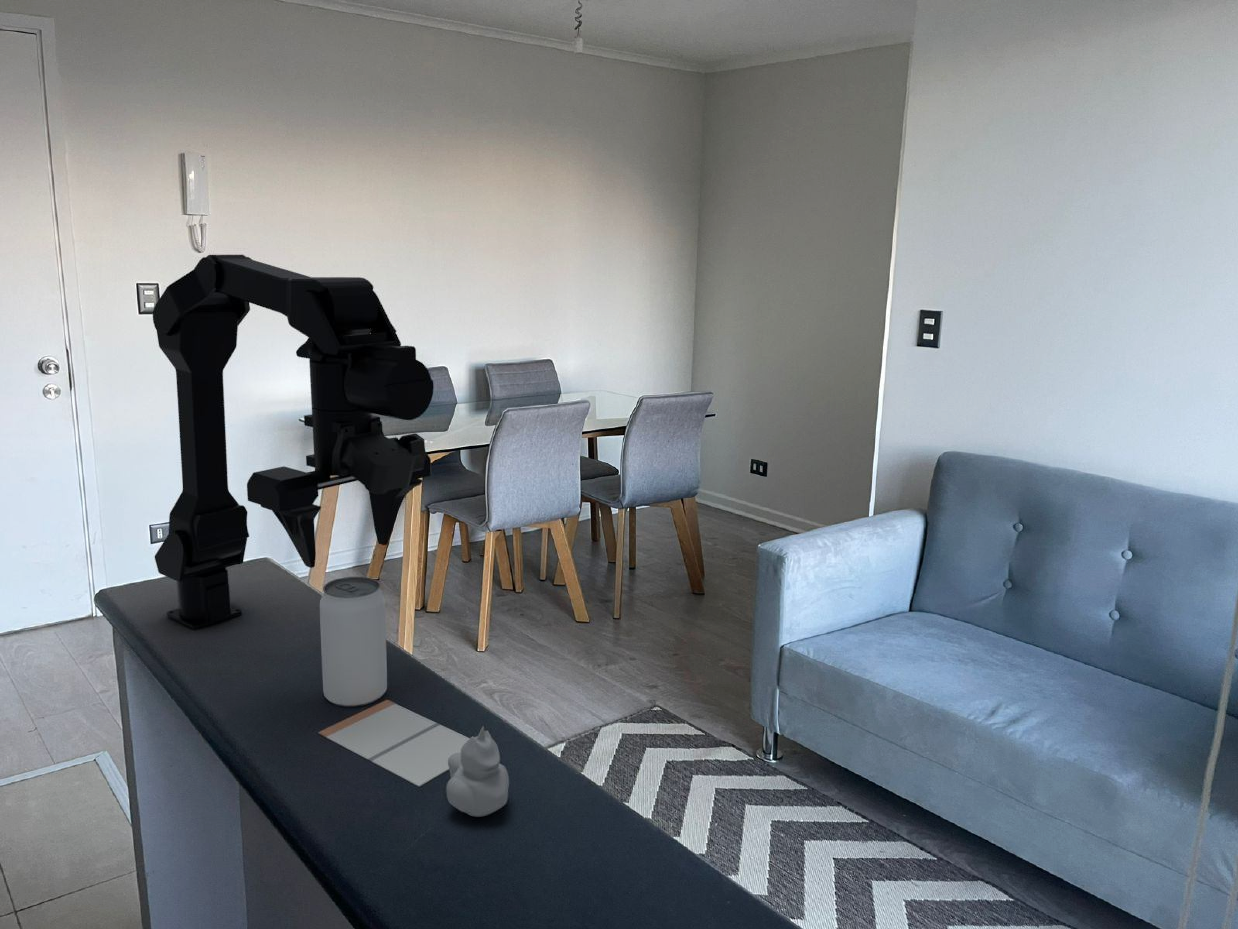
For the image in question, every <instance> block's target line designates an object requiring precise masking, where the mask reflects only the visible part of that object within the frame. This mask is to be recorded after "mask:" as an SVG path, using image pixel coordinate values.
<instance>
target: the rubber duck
mask: <svg viewBox="0 0 1238 929" xmlns="http://www.w3.org/2000/svg"><path fill="white" fill-rule="evenodd" d="M469 738H470V739H469V740H468V741H467V742H466V743H465V744H464V745H463V746H462V748H461V753H455V754H453V755H451V756H450V757H449V758H448V766H449V770H448V771H449V774H450V775H449V776H450V779H449V780H448V781H447V783H446V788H445V789H446V791H445V792H446V798H447V801H448V802H449V804H450V805H451V806H453V807H454V808H455V809H457V810H458V811H460V812H462V813H465V814H467V815H469V816H471V817H477V818H478V817H479V818H480V817H485V816H488V815H491V814H493V813H494V812H497V811H498V810H500V809H501V808H502V807H504V806H505V805H506V804H507V802H508V796H509V787H510V786H509V785H510V778H509V772H508V771H507V769H506V767H505V765H503V764H501V763H500V761H501V755H500V751H499V747H498V744H497V742H495V740H494V739H493V738H492V736H491V734H490V732H489V730H485V727H484V726H482V727H481V729H480V731H479V733H478V735H477V736H473V735H472V736H471V737H469Z"/></svg>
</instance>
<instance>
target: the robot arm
mask: <svg viewBox="0 0 1238 929" xmlns="http://www.w3.org/2000/svg"><path fill="white" fill-rule="evenodd" d="M250 304H252V305H255V306H258V307H261V308H265V309H267V310H270V311H274V312H276V313H279V314H281V315H284V316H285V317H287V318H286V319H287V322H288V325H289V326H290V327H291V328H293V329H295V330H296V331H298V332H299V333H300V334H302V335H304V336H306V337H307V340H306V341H305V342H304V343H303V344H301V345H300V346H299V347H298V348H297V350H296V352H295V353H296V356H297V357H298V358H302V359H308V360H309V362H308V363H309V377H310V378H309V379H310V380H309V381H310V402H311V414H307V415H306V414H305V415H303V422H304V423H303V424H304V426H305V427H308V428H309V427H310V428H312V439H313V440H312V441H313V454H308V455H305V461H306V463H305V465H306V466H307V467H311V468H314V470H313V471H302V470H298V469H295V468H291V467H287V466H284V465H283V466H279V467H274V468H270V469H263V470H260V471H254V472H252V474H251V476H250V477H249V479H248V481H247V483H246V491H247V493H246V495H247V502H251V503H253V504H256V505H260V507H261V508H264V509H266V510H268V511H269V510H270V511H272V513H273V514H274V515H275V517H276V518H277V519H278V521H279V522H280V524H281V526H283V529H284V530H285V532H286V534H287V535H288V537H289V539H290V541H291V543H292V545H293V546H294V548H295V550H296V552H297V553H298V556H299V557H300V558H301V561H302V562H303V564H304V565H305V567H307V568H311V569H312V568H314V567H315V566H316V557H317V556H316V555H317V552H316V532H315V531H316V530H315V518H316V517H317V515H318V514H319V511H321V508H322V506H321V505H318V504H315V501H316V500H317V498H318V497H319V491H320V490H324V489H328V488H332V487H336V486H340V485H344V484H345V485H346V484H350V483H354V482H359V483H361V485H363V486H364V487H365V489H366V490H367V491H368V494H369V495H368V496H369V500H370V506H371V513H372V520H373V527H374V528H373V529H374V532H375V535H376V539H377V543H378V544H379V545H382V546H387V545H388V543H389V542H390V537H391V535H392V533H393V529H394V526H395V523H396V519H397V516H398V514H399V511H400V508H401V505H402V504H403V501H404V498H405V497H406V496H407V495H408V494H409V493H410V492H411V491H412V490H414V489H415V488H417V487H418V486H421V484H422V483H423V480H422V479H423V478H426V477H430V476H431V475H432V460H431V459H432V458H431V457H430V456H429V454H428V453H427V451H426V445H425V439H424V438H423V437H422V436H421V435H419V434H418V433H416V432H414V433H410V434H404V435H402V436H401V437H399V438H398V437H397V436H395V437H394V436H393V437H387V436H385V434H384V431H383V422H382V421H381V416H383V417H387V418H392V419H393V418H394V419H399V420H403V421H413V420H416V419H417V418H420V417H421V416H422V415H423V414H424V413H425V412H426V411H427V409H428V408H429V406H430V404H431V402H432V399H433V395H434V386H435V385H434V380H433V379H432V377H431V373H430V371H429V369H428V367H427V366H426V365H425V364H424V363H423V362H422V361H419V360H418V359H417V349H416V347H415V345H414V346H412V345H402V343H401V340H400V338H399V337H398V334H397V330H396V328H395V326H394V325H393V324H392V322H391V320H390V319H389V315H388V314H387V312H386V310H385V308H384V306H383V303H381V300H380V299H379V296H378V294H377V293H376V291H374V285H373V284H372V283H371V281H370V280H368V279H366V278H364V277H357V276H356V277H355V276H353V277H352V276H348V277H346V276H338V277H337V276H336V277H334V276H329V277H324V276H319V277H318V276H315V277H313V276H308V275H305V274H302V273H300V272H299V273H298V272H295V271H292V270H288V269H285V268H281V267H278V266H275V265H271V264H268V263H265V262H260V261H257V260H255V259H252V258H251V257H249V256H246V255H244V254H208V255H207V256H206V257H205V256H203V257H202V258H201V259H200V260H198V263H196V265H195V266H194V269H192V270H191V271H189V272H188V273H186V274H184V275H183V276H181V277H180V278H178V279H176V280H174V282H172V283H170V284H169V285H168V286H167V287H166V288H165V290H164V291H163V293H162V294H161V296H160V298H158V301H157V302H156V303H155V305H154V308H153V310H152V321H153V326H154V328H155V330H156V335H157V342H158V347H159V349H160V350H161V351H162V353H163V354H164V355H165V357H166V358H167V360H169V363H170V364H171V365H172V367H173V368H174V370H175V375H176V376H175V377H176V393H177V394H176V395H177V410H178V412H177V413H178V428H179V445H180V463H181V480H182V481H181V482H182V491H181V493H180V495H179V496H178V498H177V500H176V502H175V503H174V505H173V507H172V509H171V510H170V512H169V516H168V535H167V536H166V537H165V539H164V540H163V542H162V544H161V545H160V547H159V548H158V550H157V552H156V553H155V555H154V560H155V564H156V568H157V572H158V573H159V574H160V575H162V576H164V577H167V578H169V579H171V580H173V581H176V590H177V602H178V608H175V609H171V610H169V611H166V616H167V617H168V618H170V619H172V620H174V621H177V622H178V623H181V624H182V625H184V626H187V627H189V628H190V629H195V630H196V629H200V628H204V627H207V626H209V625H213V624H216V623H218V622H221V621H225V620H228V619H231V618H234V617H236V616H239V615H240V616H241V615H242V614H243V609H242V608H241V607H238V606H235V605H233V604H231V603H232V602H231V590H230V584H229V571H228V569H227V568H229V567H233V566H236V565H243V563H244V560H245V559H244V558H245V553H246V548H247V542H248V538H249V537H250V533H249V530H248V510H247V508H246V506H245V505H241V504H239V502H238V501H237V500H236V499H235V498H234V496H233V495H232V494H231V492H230V491H229V481H228V476H229V475H228V457H227V456H228V455H227V436H226V433H227V432H226V431H227V430H226V415H225V414H226V413H225V412H226V411H225V395H224V394H225V393H224V392H225V391H224V390H225V388H224V369H225V368H226V366H227V364H228V362H229V361H230V360H231V357H232V356H233V354H234V353H235V351H236V349H237V345H238V343H237V342H238V330H239V325H240V324H242V322H243V320H244V319H245V318H246V316H247V315H248V313H249V312H250V311H251V306H250ZM373 414H374V415H373Z"/></svg>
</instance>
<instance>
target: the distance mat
mask: <svg viewBox="0 0 1238 929" xmlns="http://www.w3.org/2000/svg"><path fill="white" fill-rule="evenodd" d="M317 733H318V735H321V736H322V737H324V738H326V739H328V740H330V741H332V742H333V743H336V744H337V745H340V746H341V747H344V748H345V749H347V750H349V751H350V752H352V753H355V754H356V755H358V756H360V757H362V758H364V759H366V760H368V762H369V761H370V762H372V763H373V764H375V765H377V766H379V767H380V768H383V769H385V770H387V771H388V772H390V773H392V774H394V775H396V776H398V777H399V778H402V779H403V780H406V782H410V783H411V784H412V785H415V786H416V787H419V788H420V787H421V786H423V785H425V784H426V783H428V782H430V781H432V780H433V779H435V778H437V777H438V776H440V775H442V774H444V773H445V772H447V771H450V770H449V766H448V758H449V757H450V756H451V755H453V754H455V753H461V748H462V746H463V745H464V744H465V743H466V742H467V741H468V740H469V739H470V738H471V737H468V736H465V735H464V734H461V733H459V732H457V731H455V730H453V729H450V728H448V727H446V726H445V725H441V724H440V723H438V722H436V721H433V720H431V719H429V718H427V717H424V716H422V715H420V714H418V713H416V712H414V711H412V710H409V709H407V708H405V707H403V706H400V705H399V704H397V703H395V702H394V701H392V700H388V699H385V700H384V701H381V702H380V703H379V702H378V703H377V704H375V705H373V706H371V707H369V708H366V709H364V710H362V711H360V712H358V713H356V714H354V715H352V716H350V717H347V718H346V719H343V720H341V721H339V722H337V723H334V724H332V725H331V726H328V727H326V728H324V729H322V730H321V731H318V732H317Z"/></svg>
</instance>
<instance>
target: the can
mask: <svg viewBox="0 0 1238 929" xmlns="http://www.w3.org/2000/svg"><path fill="white" fill-rule="evenodd" d="M380 588H381V584H380V581H378V580H377V579H375V578H372V577H368V576H345V577H339V578H336V579H333V580H330V581H329V582H327V583H325V585H323V587H322V591H323V593H322V596H321V598H320V601H319V623H320V624H319V625H320V626H319V628H320V644H321V645H320V647H321V649H320V652H321V653H320V654H321V669H322V670H321V671H322V674H321V675H322V689H323V690H322V692H323V695H324V698H326V699H327V701H328V702H330V703H331V704H332V705H336V706H338V707H339V706H340V707H347V708H350V707H351V708H353V707H360V706H362V707H363V706H367V705H370V704H372V703H375V702H376V701H378V700H379V699H380V698H382V697H383V695H384V694H385V693H386V692H387V689H388V672H387V671H388V670H387V666H388V664H387V632H386V631H387V630H386V629H387V628H386V603H385V601H386V600H385V597H384V594H383V592H382V591H381V589H380Z"/></svg>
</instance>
